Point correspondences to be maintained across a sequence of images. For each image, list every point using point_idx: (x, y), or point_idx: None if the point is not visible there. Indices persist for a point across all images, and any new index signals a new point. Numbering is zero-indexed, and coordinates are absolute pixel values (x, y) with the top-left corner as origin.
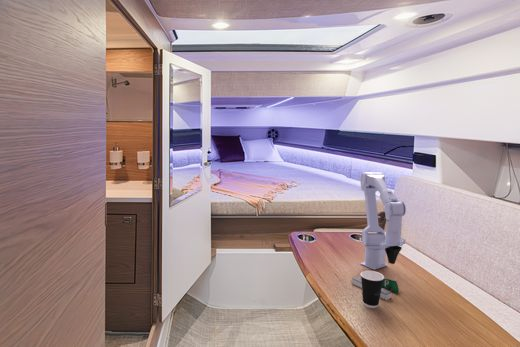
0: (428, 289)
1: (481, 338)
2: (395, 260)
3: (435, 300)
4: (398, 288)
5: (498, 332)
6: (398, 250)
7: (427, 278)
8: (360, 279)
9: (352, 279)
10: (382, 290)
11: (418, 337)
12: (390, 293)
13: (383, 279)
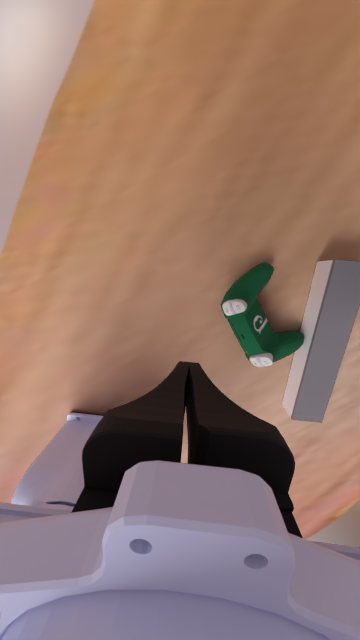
0: (116, 210)
1: None
2: (179, 368)
3: (190, 132)
4: (248, 272)
5: None
6: (177, 414)
7: (26, 268)
8: (308, 399)
9: (319, 417)
10: (345, 293)
11: None
12: (338, 260)
13: (259, 340)
